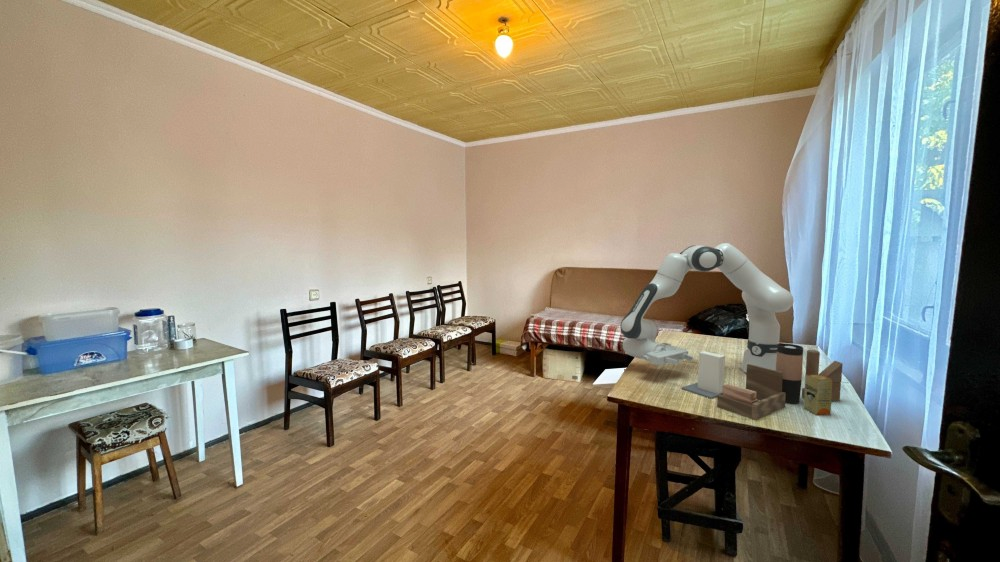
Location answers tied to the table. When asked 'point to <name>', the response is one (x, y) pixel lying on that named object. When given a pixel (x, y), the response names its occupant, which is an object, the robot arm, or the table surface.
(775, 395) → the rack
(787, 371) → the travel mug
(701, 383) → the white rectangular block
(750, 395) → the offcut stack
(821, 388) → the shoe polish box
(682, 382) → the table surface
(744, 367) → the robot arm
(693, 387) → the mat
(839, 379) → the wooden block
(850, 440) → the table surface
